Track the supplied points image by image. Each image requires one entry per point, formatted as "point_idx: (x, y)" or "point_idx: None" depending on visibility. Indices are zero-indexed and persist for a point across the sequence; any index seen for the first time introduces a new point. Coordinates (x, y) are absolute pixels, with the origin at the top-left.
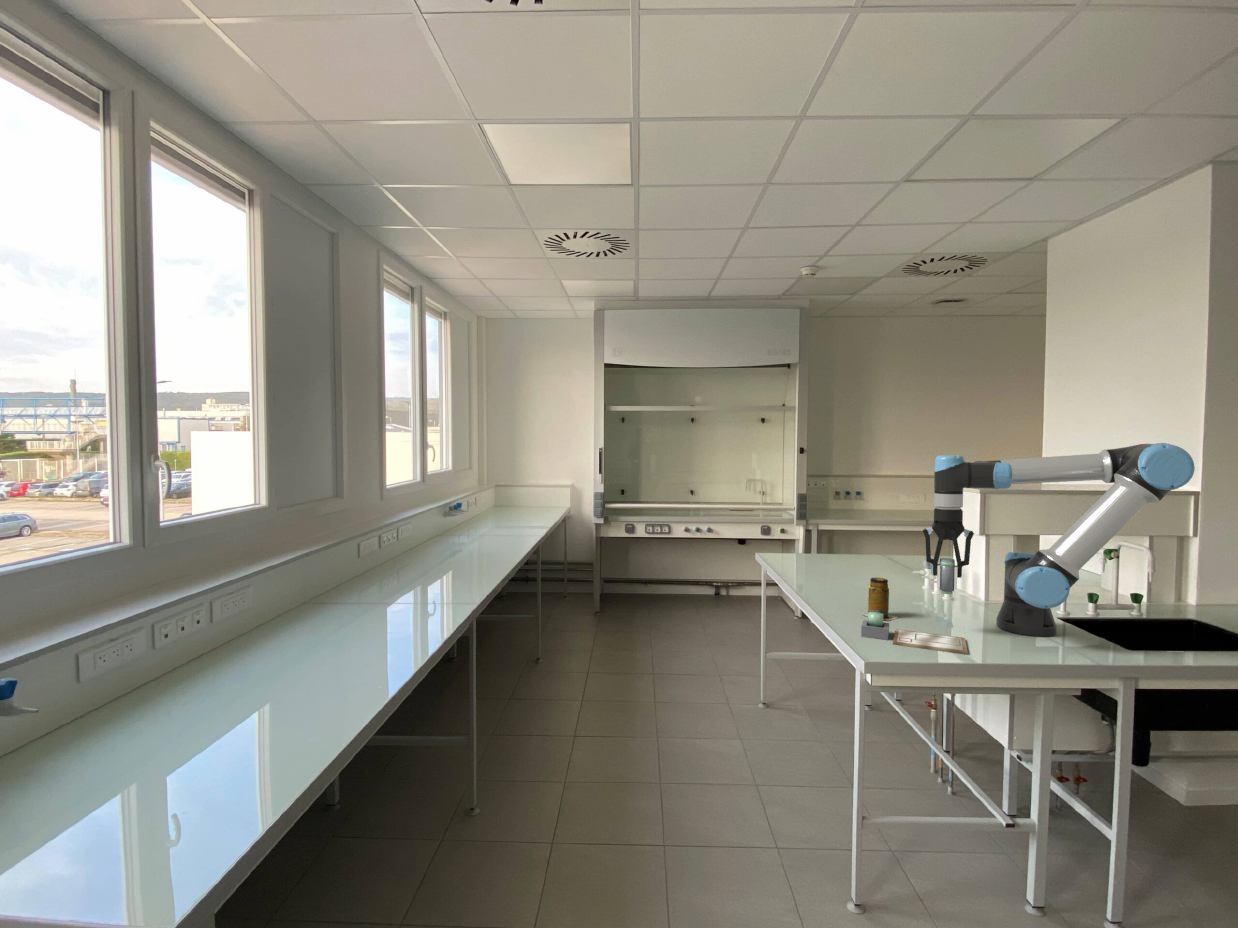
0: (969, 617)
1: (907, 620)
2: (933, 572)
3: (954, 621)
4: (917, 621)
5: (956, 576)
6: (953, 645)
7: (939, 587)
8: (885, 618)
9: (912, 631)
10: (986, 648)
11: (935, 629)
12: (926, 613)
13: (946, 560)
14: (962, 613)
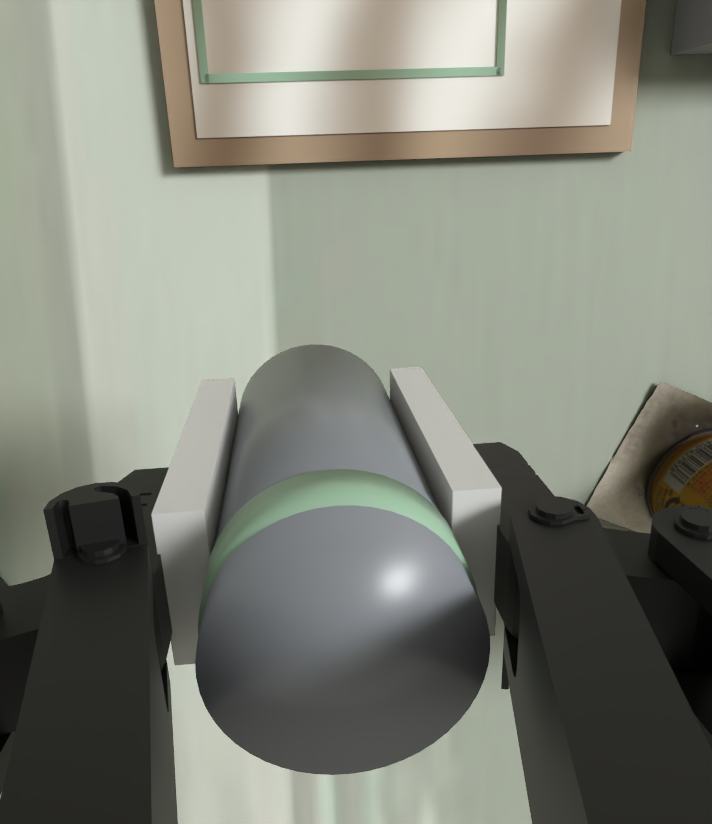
0: (192, 725)
1: (534, 471)
2: (517, 462)
3: None
4: None
5: (191, 440)
6: None
7: (395, 369)
8: (665, 440)
9: (518, 146)
10: (16, 3)
11: (368, 345)
12: None
13: (360, 531)
14: (234, 784)
